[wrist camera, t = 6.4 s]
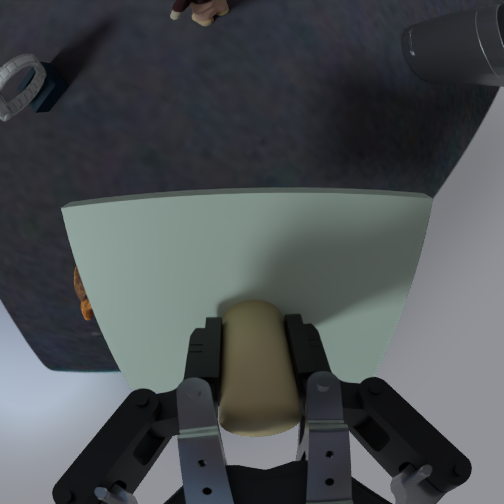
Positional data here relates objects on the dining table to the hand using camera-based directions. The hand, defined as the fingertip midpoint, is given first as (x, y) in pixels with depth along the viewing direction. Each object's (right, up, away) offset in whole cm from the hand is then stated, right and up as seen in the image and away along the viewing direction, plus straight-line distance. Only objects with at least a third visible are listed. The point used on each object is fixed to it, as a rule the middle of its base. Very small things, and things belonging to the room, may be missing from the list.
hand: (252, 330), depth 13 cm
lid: (0, +1, +1) cm, 1 cm away
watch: (-26, +25, +10) cm, 38 cm away
